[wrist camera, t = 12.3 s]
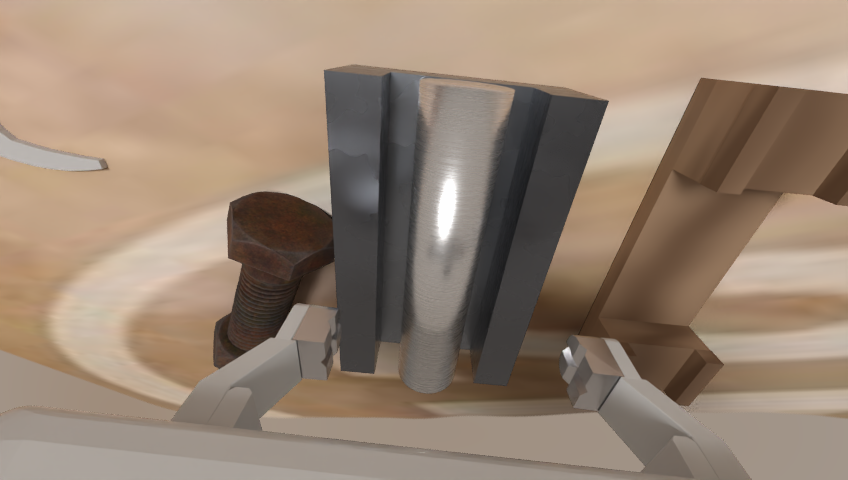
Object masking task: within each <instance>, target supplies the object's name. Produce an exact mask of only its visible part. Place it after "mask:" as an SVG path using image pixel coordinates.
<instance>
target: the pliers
mask: <svg viewBox="0 0 848 480" xmlns="http://www.w3.org/2000/svg"><path fill="white" fill-rule="evenodd" d="M0 156H2V157H5V158H8V159H11V160H14V161H17V162H21V163H25V164H28V165H32V166H37V167H43V168H48V169H55V170H66V171H86V170H97V169H104V168H107V164H106V162H105V160H104V159H102V158H96V157H89V156H84V155H79V154H74V153H69V152H64V151H59V150H54V149H50V148H47V147H43V146H40V145H36V144H33V143H30V142H27V141H24V140H20V139H18V138H16V137H15V136H14V135H13V134H11V133H10V132H9V131H8V130H6V129H5V128H4V127H3V126H2V125H1V124H0Z"/></svg>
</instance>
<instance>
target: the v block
mask: <svg viewBox="0 0 848 480" xmlns="http://www.w3.org/2000/svg"><path fill="white" fill-rule="evenodd" d="M324 78H325V96H326V114H327V131H328V149H329V167H330V185H331V203H332V221H333V239H334V257H335V274H336V292H337V308H339V309H340V310H341V318H340V321H339V324H340V325H341V328H342V332H341V340H340V345H339V346H340V364H341V371H350V372H361V373H372V374H374V372H375V367H376V362H377V357H378V352H379V347H380V342H381V341H383V342H394V343H400V339H401V325H402V312H403V299H404V285H405V272H406V259H407V245H408V232H409V219H410V205H411V192H412V179H413V165H414V152H415V139H416V125H417V112H418V99H419V85H420V79H426V78H435V79H453V80H463V81H472V82H480V83H487V84H494V85H499V86H504V87H508V88H512V89H514V90H515V93H514V97H513V102H512V107H511V111H510V116H509V121H508V125H507V130H506V135H505V139H504V144H503V149H502V154H501V158H500V163H499V168H498V172H497V177H496V182H495V186H494V191H493V196H492V200H491V205H490V210H489V214H488V219H487V224H486V228H485V233H484V238H483V242H482V247H481V252H480V257H479V261H478V266H477V271H476V275H475V280H474V285H473V289H472V294H471V299H470V303H469V308H468V313H467V317H466V322H465V327H464V331H463V336H462V341H461V345H460V349H468V350H470V354H471V363H472V372H473V381H474V383H480V384H491V385H502V386H507V383H508V381H509V378H510V375H511V372H512V369H513V367H514V364H515V361H516V358H517V356H518V353H519V350H520V347H521V344H522V342H523V339H524V336H525V333H526V330H527V328H528V325H529V322H530V319H531V317H532V314H533V311H534V308H535V305H536V303H537V300H538V297H539V294H540V291H541V289H542V286H543V283H544V280H545V277H546V275H547V272H548V269H549V266H550V264H551V261H552V258H553V255H554V252H555V250H556V247H557V244H558V241H559V238H560V236H561V233H562V230H563V227H564V225H565V222H566V219H567V216H568V213H569V211H570V208H571V205H572V202H573V199H574V197H575V194H576V191H577V188H578V186H579V183H580V180H581V177H582V174H583V172H584V169H585V166H586V163H587V160H588V158H589V155H590V152H591V149H592V147H593V144H594V141H595V138H596V135H597V133H598V130H599V127H600V124H601V121H602V119H603V116H604V113H605V110H606V107H607V105H608V102H609V101H607V100H604V99H601V98H597V97H594V96H591V95H587V94H584V93H581V92H578V91H574V90H571V89H568V88H563V87H554V86H545V85H536V84H526V83H517V82H508V81H499V80H490V79H481V78H471V77H462V76H453V75H444V74H435V73H426V72H416V71H407V70H398V69H389V68H380V67H371V66H361V65H348V66H343V67H338V68H333V69H327V70H324Z"/></svg>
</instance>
